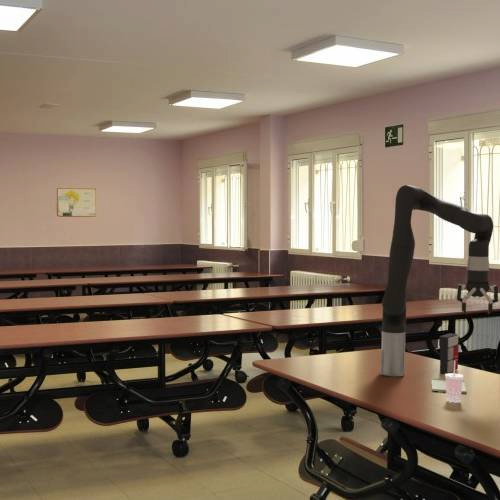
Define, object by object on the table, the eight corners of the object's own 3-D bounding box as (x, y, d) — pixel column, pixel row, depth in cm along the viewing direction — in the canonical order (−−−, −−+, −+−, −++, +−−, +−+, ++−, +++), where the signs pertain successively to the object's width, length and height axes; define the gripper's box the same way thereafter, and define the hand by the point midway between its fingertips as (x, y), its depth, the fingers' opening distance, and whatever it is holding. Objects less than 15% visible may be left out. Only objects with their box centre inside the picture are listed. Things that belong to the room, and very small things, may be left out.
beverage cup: (462, 404, 245) (463, 363, 245) (443, 402, 247) (444, 361, 247) (463, 400, 251) (464, 359, 250) (445, 398, 253) (446, 358, 252)
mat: (432, 391, 262) (432, 389, 262) (431, 380, 280) (431, 378, 280) (466, 393, 260) (466, 391, 260) (463, 382, 277) (463, 380, 277)
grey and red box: (448, 374, 291) (449, 337, 290) (438, 373, 294) (439, 336, 293) (458, 370, 300) (459, 334, 299) (448, 368, 303) (449, 333, 302)
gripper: (497, 268, 266) (496, 313, 267) (457, 267, 269) (455, 311, 270) (499, 270, 259) (498, 315, 260) (458, 269, 262) (457, 313, 263)
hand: (476, 313), depth 265 cm, fingers open, 8 cm apart
